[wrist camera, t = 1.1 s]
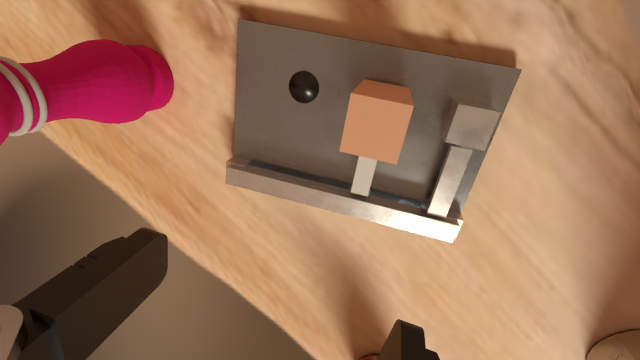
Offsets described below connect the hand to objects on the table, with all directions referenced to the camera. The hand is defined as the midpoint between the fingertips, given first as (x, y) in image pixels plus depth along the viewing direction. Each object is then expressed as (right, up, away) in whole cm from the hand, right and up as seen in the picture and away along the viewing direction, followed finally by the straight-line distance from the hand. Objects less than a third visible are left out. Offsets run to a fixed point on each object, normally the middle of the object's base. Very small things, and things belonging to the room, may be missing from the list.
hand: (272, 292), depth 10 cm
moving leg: (+6, +7, +17) cm, 20 cm away
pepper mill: (-16, +14, +22) cm, 31 cm away
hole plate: (+5, +8, +19) cm, 21 cm away
